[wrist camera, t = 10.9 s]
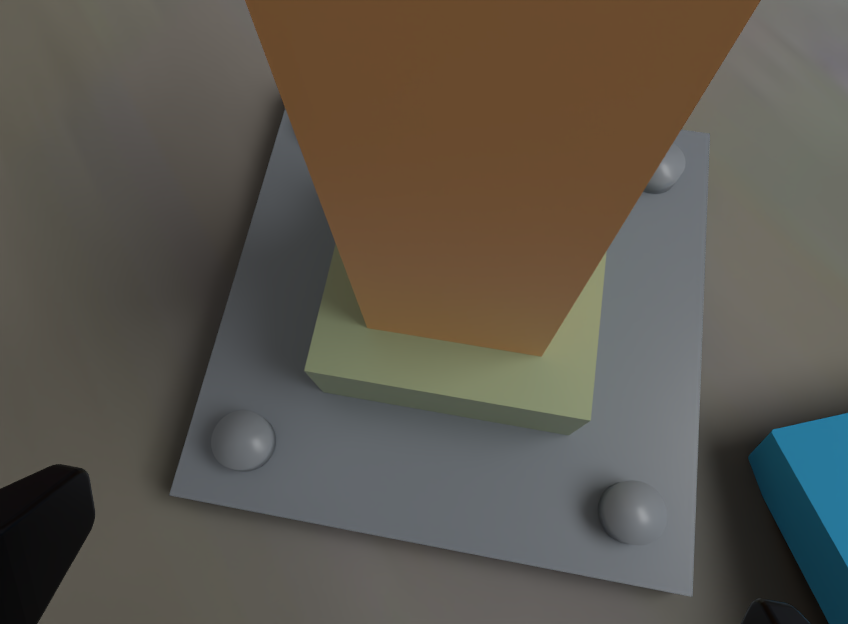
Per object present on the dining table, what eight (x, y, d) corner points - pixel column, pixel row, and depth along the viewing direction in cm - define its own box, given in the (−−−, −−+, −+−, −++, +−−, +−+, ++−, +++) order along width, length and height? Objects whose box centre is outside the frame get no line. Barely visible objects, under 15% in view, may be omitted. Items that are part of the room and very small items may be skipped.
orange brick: (541, 356, 17) (764, -6, 5) (367, 328, 18) (219, -69, 6) (560, 200, 19) (765, -346, 7) (399, 177, 19) (336, -377, 7)
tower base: (677, 592, 19) (740, 610, 15) (184, 496, 20) (121, 490, 16) (697, 152, 24) (748, 78, 20) (300, 97, 25) (275, 18, 21)
